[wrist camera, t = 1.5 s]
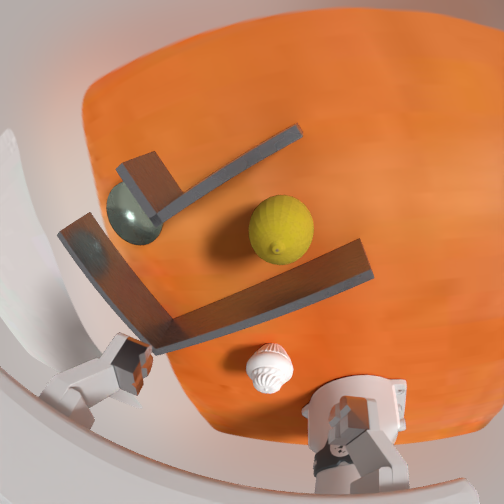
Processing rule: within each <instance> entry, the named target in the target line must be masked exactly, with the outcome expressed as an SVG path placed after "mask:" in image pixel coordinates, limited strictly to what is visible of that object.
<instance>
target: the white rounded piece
mask: <svg viewBox="0 0 504 504" xmlns="http://www.w3.org/2000/svg"><path fill="white" fill-rule="evenodd" d="M291 363H292V362H291V360H290V358H289V356H288V355H287V353H286V351H285V350H284V348H283V347H281V346H280V345H278V344H275V343H268V344H266V345H264V346H262V347H261V348H260V349H259V350H258V351H256V352H255V353H254V354H253V355H252V356H251V358H250V359H249V360H248V362H247V365H246V371H247V374H248V376H249V377H250V378H251V380H253V385H254V387H255V388H256V389H257V390H258V391H260V392H262V393H266V394H267V393H269V394H271V393H275V392H276V391H278V390H279V388H281V386H282V385H283V384H284V383H286V382H287V381H288V380H289V379H290V378H291V377H292V375H293V366H292V364H291Z"/></svg>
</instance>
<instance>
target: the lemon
mask: <svg viewBox="0 0 504 504" xmlns="http://www.w3.org/2000/svg"><path fill="white" fill-rule="evenodd" d="M313 233H314V226H313V220H312V217H311V214H310V212H309V210H308V209H307V207H306V206H305V205H304V204H303V203H302V202H301V201H299V200H298V199H296V198H294V197H291V196H287V195H276V196H273V197H269V198H268V199H266V200H264V201H263V202H261V203H260V204H259V205H258V206H257V207H256V209H255V210H254V212H253V214H252V216H251V219H250V223H249V239H250V242H251V246H252V248H253V249H254V251H255V252H256V254H257V255H258V256H259V257H260V258H261V259H263V260H265V261H266V262H269V263H272V264H277V265H285V264H289V263H292V262H295V261H296V260H298V259H299V258H301V257H302V256H303V255H304V253H305V252H306V251H307V250H308V248H309V246H310V244H311V242H312V238H313Z"/></svg>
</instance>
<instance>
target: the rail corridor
mask: <svg viewBox="0 0 504 504" xmlns="http://www.w3.org/2000/svg"><path fill="white" fill-rule="evenodd" d="M302 137H303V131H302V130H301V128H300V126H299V125H298V123H296V124H294V125H292V126H290V127H288V128H286V129H285V130H283V131H281V132H279V133H278V134H276V135H274V136H272V137H271V138H269V139H267V140H265V141H264V142H262V143H260V144H259V145H257V146H255V147H254V148H252V149H250V150H249V151H247V152H245V153H244V154H242V155H240V156H239V157H237V158H236V159H234V160H232V161H231V162H229V163H228V164H226V165H225V166H223V167H221V168H220V169H218V170H217V171H215V172H214V173H212V174H211V175H209V176H208V177H206V178H205V179H203V180H202V181H200V182H199V183H197V184H196V185H194V186H193V187H191V188H190V189H188V190H187V191H186V192H184V193H183V192H182V191H181V189H180V188H179V186H178V185H177V183H176V182H175V180H174V179H173V177H172V176H171V174H170V173H169V172H168V170H167V169H166V167H165V166H164V164H163V163H162V161H161V160H160V158H159V157H158V155H157V154H156V152H155V151H153V152H151V153H148V154H145V155H142V156H139V157H136V158H134V159H131V160H128V161H126V162H123V163H122V164H121V165H119V166H118V167H117V168H116V171H117V172H118V174H119V175H120V177H121V179H122V180H123V182H121V183H119V184H118V185H116V186H115V187H114V188H113V189H112V190H111V192H110V194H109V196H108V200H107V214H108V218H109V221H110V223H111V225H112V227H113V229H114V230H115V231H116V233H117V234H118V235H119V236H120V237H121V238H123V239H124V240H126V241H127V242H129V243H132V244H135V245H145V244H149V243H151V242H153V241H154V240H155V239H156V238H157V237H158V236H159V234H160V232H161V230H162V227H163V222H165V221H166V220H168V219H169V218H171V217H172V216H174V215H175V214H177V213H178V212H180V211H181V210H183V209H184V208H186V207H187V206H189V205H190V204H192V203H193V202H195V201H196V200H198V199H199V198H201V197H202V196H204V195H205V194H207V193H209V192H210V191H212V190H213V189H215V188H216V187H218V186H220V185H221V184H223V183H224V182H226V181H228V180H229V179H231V178H232V177H234V176H236V175H237V174H239V173H241V172H242V171H244V170H246V169H247V168H249V167H251V166H252V165H254V164H256V163H257V162H259V161H261V160H263V159H264V158H266V157H268V156H270V155H271V154H273V153H275V152H277V151H278V150H280V149H282V148H284V147H286V146H287V145H289V144H291V143H293V142H295V141H296V140H298V139H300V138H302ZM57 236H58V238H59V239H60V240H61V242H62V243H63V245H64V247H65V248H66V249H67V251H68V252H69V254H70V255H71V256H72V258H73V259H74V261H75V262H76V263H77V265H78V266H79V267H80V269H81V270H82V271H83V273H84V274H85V275H86V277H87V278H88V279H89V281H90V282H91V283H92V284H93V286H94V287H95V288H96V290H97V291H98V292H99V293H100V294H101V296H102V297H103V298H104V299H105V301H106V302H107V303H108V304H109V305H110V307H111V308H112V309H113V310H114V311H115V312H116V314H117V315H118V316H119V317H120V318H121V319H122V320H123V322H124V323H125V324H127V326H128V327H129V328H130V329H131V330H132V331H133V333H134V334H135V335H136V336H138V338H139V339H140V340H141V341H142V342H144V343H146V344H149V345H151V346H152V352H153V353H154V354H155V355H161V354H164V353H168V352H171V351H175V350H178V349H182V348H185V347H189V346H192V345H195V344H199V343H202V342H205V341H208V340H212V339H215V338H218V337H221V336H224V335H227V334H230V333H233V332H236V331H239V330H242V329H245V328H248V327H251V326H254V325H257V324H260V323H263V322H265V321H268V320H271V319H274V318H277V317H279V316H282V315H285V314H287V313H290V312H293V311H295V310H298V309H301V308H303V307H306V306H308V305H311V304H314V303H316V302H319V301H321V300H324V299H326V298H329V297H331V296H333V295H336V294H338V293H341V292H343V291H346V290H348V289H350V288H353V287H355V286H357V285H360V284H362V283H364V282H366V281H369V280H371V279H373V278H374V275H373V272H372V269H371V266H370V263H369V261H368V258H367V255H366V252H365V250H364V247H363V245H362V242H361V240H360V238H359V239H357V240H355V241H353V242H351V243H349V244H347V245H344V246H342V247H340V248H338V249H336V250H334V251H331V252H329V253H327V254H325V255H323V256H320V257H318V258H316V259H314V260H312V261H309V262H307V263H305V264H303V265H300V266H298V267H296V268H294V269H291V270H289V271H287V272H285V273H282V274H280V275H278V276H275V277H273V278H271V279H268V280H266V281H264V282H262V283H259V284H257V285H255V286H252V287H250V288H247V289H245V290H243V291H240V292H238V293H236V294H233V295H231V296H228V297H226V298H224V299H221V300H219V301H216V302H214V303H212V304H209V305H207V306H204V307H202V308H199V309H197V310H194V311H192V312H189V313H187V314H185V315H182V316H180V317H177V318H174V319H172V317H171V316H170V315H169V314H168V313H167V312H166V311H165V309H164V308H163V307H162V306H161V305H160V304H159V302H158V301H157V300H156V299H155V298H154V296H153V295H152V294H151V293H150V292H149V290H148V289H147V288H146V287H145V286H144V284H143V283H142V282H141V281H140V279H139V278H138V277H137V276H136V274H135V273H134V272H133V270H132V269H131V268H130V267H129V265H128V264H127V263H126V261H125V260H124V259H123V257H122V256H121V255H120V253H119V252H118V251H117V249H116V248H115V247H114V245H113V244H112V243H111V241H110V240H109V238H108V237H107V236H106V234H105V233H104V231H103V230H102V229H101V227H100V226H99V224H98V223H97V221H96V220H95V218H94V217H93V215H92V214H91V213H90V212H89V213H87V214H86V215H84V216H83V217H81V218H80V219H78V220H76V221H75V222H73V223H72V224H70V225H69V226H67V227H66V228H64V229H63V230H61V231H60V232H59V233H58V235H57Z"/></svg>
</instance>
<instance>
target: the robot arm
mask: <svg viewBox="0 0 504 504" xmlns="http://www.w3.org/2000/svg"><path fill="white" fill-rule="evenodd" d="M151 352H152V346H151V345H149V344H146V343H144V342H141V341H139V340H136V339H134V338H132V337H130V336H127V335H125V334H122V333H120V332H119V333H118V334H116V335H115V337H114V338H113V340H112V341H111V342H110V344H109V345H108V347H107V348H106V350H105V351H104V353H103V354H102V356H101V357H100V358H99V359H98V358H94V359H92V360H90V361H87V362H85V363H83V364H80V365H78V366H76V367H73V368H71V369H68V370H66V371H64V372H61V373H59V374H56V375H54V376H53V377H52V379H51V380H50V382H49V383H48V384H47V386H46V387H45V389H44V390H43V391H42V393H41V395H40V396H39V397H37V396H36V395H34V394H33V393H32V392H30V391H29V390H28V389H27V388H25V387H24V386H23V385H21V384H20V383H19V382H18V381H16V380H15V379H14V378H13V377H12V376H10V375H9V374H8V373H7V372H6V371H5V370H3V369H2V368H1V367H0V504H480V500H479V495H478V492H477V491H476V489H475V488H474V487H473V486H472V484H471V483H470V482H469V481H468V480H467V479H466V478H458V479H454V480H450V481H446V482H442V483H438V484H433V485H428V486H423V487H418V488H412V489H409V473H408V464H407V463H406V462H405V460H404V459H403V458H402V456H401V455H400V454H399V452H398V451H397V449H396V448H395V447H394V443H395V441H396V438H397V434H398V431H399V432H400V431H403V430H406V423H405V418H404V410H405V400H406V388H407V385H406V380H403V379H393V380H390V379H386V378H382V377H379V376H373V375H357V376H350V377H345V378H341V379H338V380H335V381H332V382H330V383H327V384H325V385H324V386H322V387H320V388H319V389H318V390H317V391H316V392H315V393H314V394H313V396H312V398H311V401H310V403H309V404H307V405H306V406H305V407H304V408H303V409H302V415H303V416H304V417H306V418H307V419H308V446H309V448H310V449H311V450H312V451H314V452H315V453H316V455H315V460H314V465H313V469H314V476H315V477H316V485H315V494H309V493H294V492H285V491H276V490H268V489H262V488H256V487H250V486H244V485H239V484H234V483H229V482H225V481H221V480H217V479H213V478H209V477H205V476H201V475H198V474H194V473H191V472H188V471H185V470H181V469H178V468H175V467H172V466H169V465H167V464H163V463H161V462H158V461H156V460H153V459H150V458H148V457H145V456H143V455H140V454H138V453H136V452H134V451H131V450H129V449H127V448H125V447H122V446H120V445H118V444H116V443H114V442H112V441H110V440H108V439H106V438H104V437H102V436H100V435H98V434H96V433H94V432H93V431H91V430H90V429H91V427H92V425H93V423H94V421H95V419H94V417H93V415H92V413H91V412H90V410H89V408H90V407H92V406H93V405H95V404H97V403H98V402H100V401H102V400H104V399H105V398H107V397H109V396H110V395H112V394H114V393H115V392H117V391H119V390H120V389H122V390H124V391H127V392H129V393H132V394H134V395H137V396H138V394H139V392H140V390H141V388H142V386H143V378H145V377H147V376H148V374H149V373H150V370H151V367H152V363H153V357H152V356H151Z"/></svg>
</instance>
